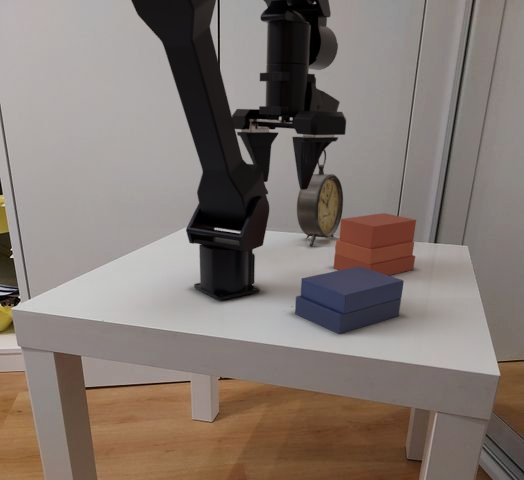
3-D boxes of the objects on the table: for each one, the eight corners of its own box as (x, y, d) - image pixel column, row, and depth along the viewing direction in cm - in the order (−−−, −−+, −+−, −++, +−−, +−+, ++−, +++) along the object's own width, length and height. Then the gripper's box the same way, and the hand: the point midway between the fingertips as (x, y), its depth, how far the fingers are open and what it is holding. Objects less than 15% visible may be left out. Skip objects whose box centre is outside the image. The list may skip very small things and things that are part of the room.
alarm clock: (316, 249, 92) (322, 150, 86) (289, 244, 95) (293, 148, 88) (342, 238, 101) (349, 147, 94) (316, 234, 103) (322, 145, 97)
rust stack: (369, 280, 76) (372, 250, 74) (333, 268, 82) (335, 239, 80) (413, 269, 82) (417, 241, 80) (376, 259, 87) (380, 232, 85)
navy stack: (339, 334, 58) (342, 295, 56) (294, 313, 63) (296, 278, 61) (399, 315, 63) (404, 280, 61) (354, 298, 69) (357, 265, 67)
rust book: (370, 249, 75) (373, 226, 74) (339, 240, 80) (340, 218, 78) (413, 241, 80) (416, 219, 79) (381, 233, 85) (383, 213, 84)
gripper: (380, 66, 69) (368, 189, 75) (289, 71, 82) (285, 175, 89) (317, 60, 63) (309, 195, 69) (229, 66, 76) (230, 179, 82)
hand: (283, 185), depth 77 cm, fingers open, 9 cm apart
